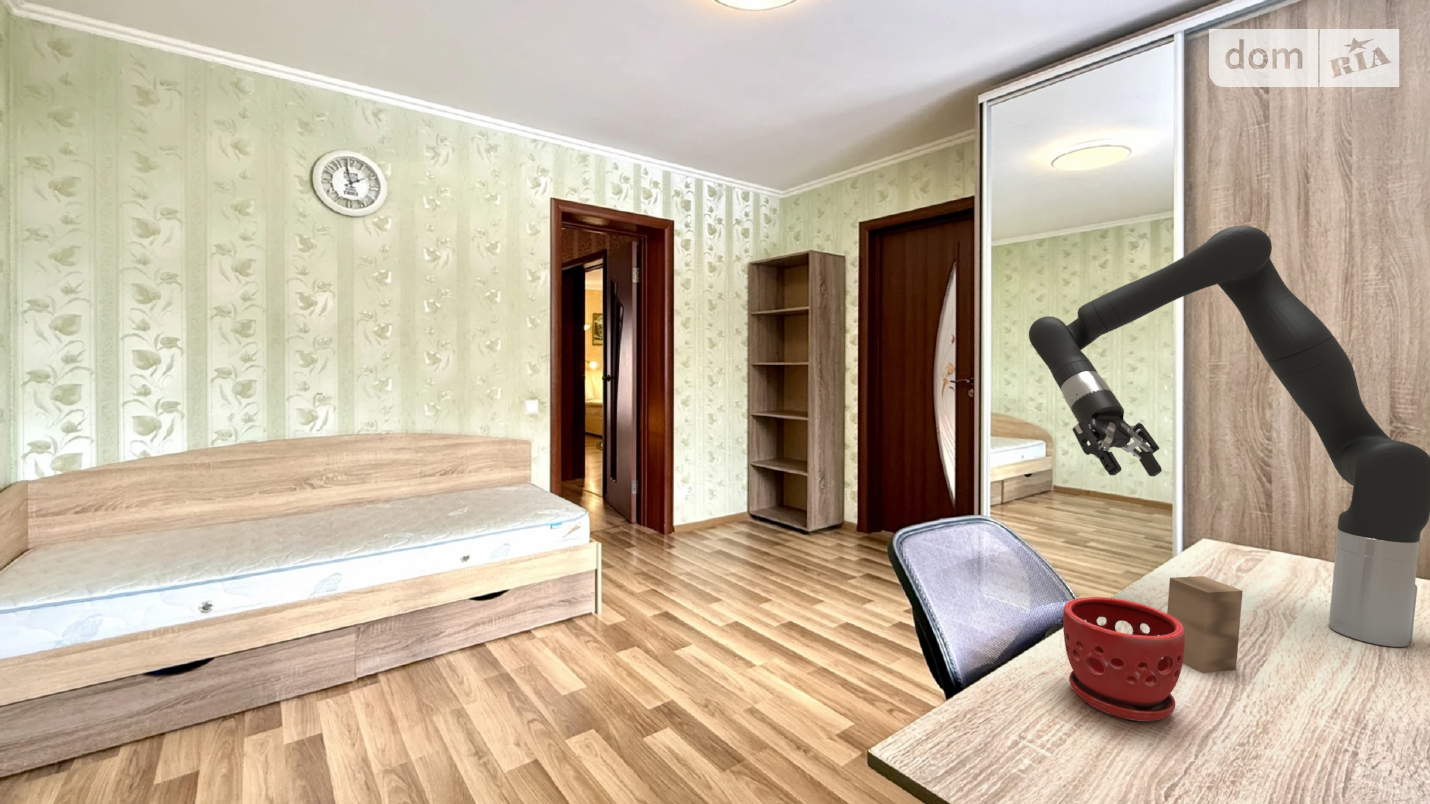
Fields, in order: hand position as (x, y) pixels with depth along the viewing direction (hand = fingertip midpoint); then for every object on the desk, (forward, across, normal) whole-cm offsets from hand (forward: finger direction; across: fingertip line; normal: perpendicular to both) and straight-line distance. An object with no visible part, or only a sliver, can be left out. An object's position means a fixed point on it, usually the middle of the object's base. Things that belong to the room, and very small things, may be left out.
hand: (1136, 473), depth 105 cm
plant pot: (+35, -24, +2) cm, 42 cm away
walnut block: (+29, -2, +6) cm, 30 cm away
